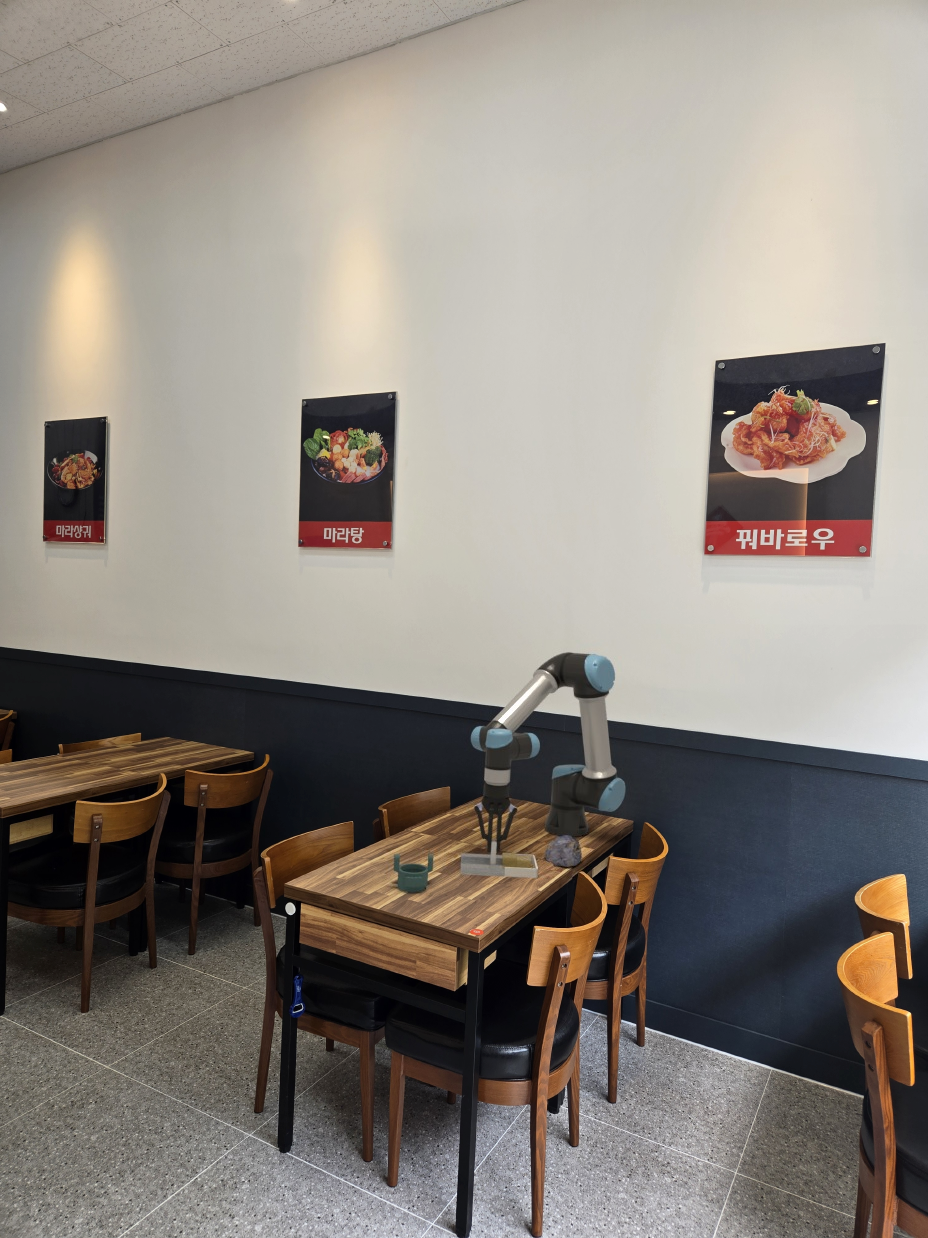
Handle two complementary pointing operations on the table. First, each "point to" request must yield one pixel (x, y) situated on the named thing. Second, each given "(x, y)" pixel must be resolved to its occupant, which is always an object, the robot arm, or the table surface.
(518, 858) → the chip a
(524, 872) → the tray
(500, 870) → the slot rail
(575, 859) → the rock
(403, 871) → the teal round pot
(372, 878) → the table surface
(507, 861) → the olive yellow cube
